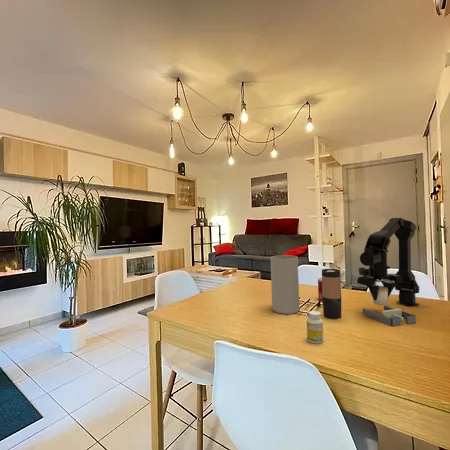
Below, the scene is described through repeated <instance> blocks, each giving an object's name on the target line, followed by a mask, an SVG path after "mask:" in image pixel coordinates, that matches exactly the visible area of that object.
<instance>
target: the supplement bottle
mask: <svg viewBox="0 0 450 450" xmlns="http://www.w3.org/2000/svg"><path fill="white" fill-rule="evenodd" d="M321 315H322V314H321V312H320V311H318V310H309V311H308V317H307V318H306V337H307V341H308V342H310V343H312V344H322V343H323V342H324V322H323V319H322V317H321Z"/></svg>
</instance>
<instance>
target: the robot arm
mask: <svg viewBox="0 0 450 450" xmlns="http://www.w3.org/2000/svg"><path fill="white" fill-rule="evenodd" d="M416 231H417V226H416V223H414V222H413V221H410V220H408V219H405V218H403V217H392V218H389V220H388V222H387V223H386V224H385V225H384V226H383V227H382V228H381V229H380V230H379V231H374V232H372V233H371V234H370V235H369V236H368V238H367V240H366V243H365V246H364V249H363V251H364V252H362V253H361V254H360V256H359V261H360V263H361V264H362V265H363V266H365V267H368V268H365V267H359V268H358V274H359V275H360V276H358V277H357V279H356V280H357V281H356V283H357V284H360V285H363V286H366V287H367V288H368V290H369V293H370V294H371V297H372V300H373V299H374V300H377V295H378V289H379V286H380V285H378V284H377V283H381V284H382V286H385V287H388V298H390V295H391V293H392V292H393V290H394V289H395V291H398V301H396V303H398V304H400V305H404V306H407V307H410V306H413V307H414V306H418V305H419V304H420V303H418V302H416V300H417V299H416V294H419V293H420V286H419V284H418V282H417V281H416V276H415V274H414V273H413V271H412V260H411V259H412V254H411V253H412V252H411V251H412V248H411V240H412V239H413V238H414V237H415V234H416ZM393 235H395V237H396V238H397V240H398V270H397V272H396V273H388V269H389V270H390V267H391V266H390V265H388V252H389V250H388V247H389V246H390V244H391V237H393Z"/></svg>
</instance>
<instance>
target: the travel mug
mask: <svg viewBox="0 0 450 450" xmlns="http://www.w3.org/2000/svg"><path fill="white" fill-rule="evenodd" d="M321 278H322V299H323V302H322V311H323V312H322V313H323V317H324V318H327V319H330V320H339V319H342V283H341V281H342V280H341V279H342V278H341V269H336V268H322V269H321Z"/></svg>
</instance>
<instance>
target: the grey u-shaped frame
mask: <svg viewBox="0 0 450 450" xmlns="http://www.w3.org/2000/svg"><path fill="white" fill-rule="evenodd" d="M392 309H395V308H394V307H391V306H388V305H383V311H385V310H392ZM362 315H364V316H365V317H368V318H370V319H372V320H375V321H378V322H380V323H382V324H384V325H387V326H389V327H397V326H399V327H400V326H401V325H402V324H401V321H402V320H401V317H390V318H388V317H386V316H383V315H382V313H381V314H380V313H378V312H375V311H373V310H370V309H368V308H366V307H365V308H362ZM402 317H403V318H404V323H405V324H406V325H410V324H411V325H412V324H416V323H417V321H416V320H417V319H416V315H415V314H411V313H408V312H406V311H403V310H402Z"/></svg>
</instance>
